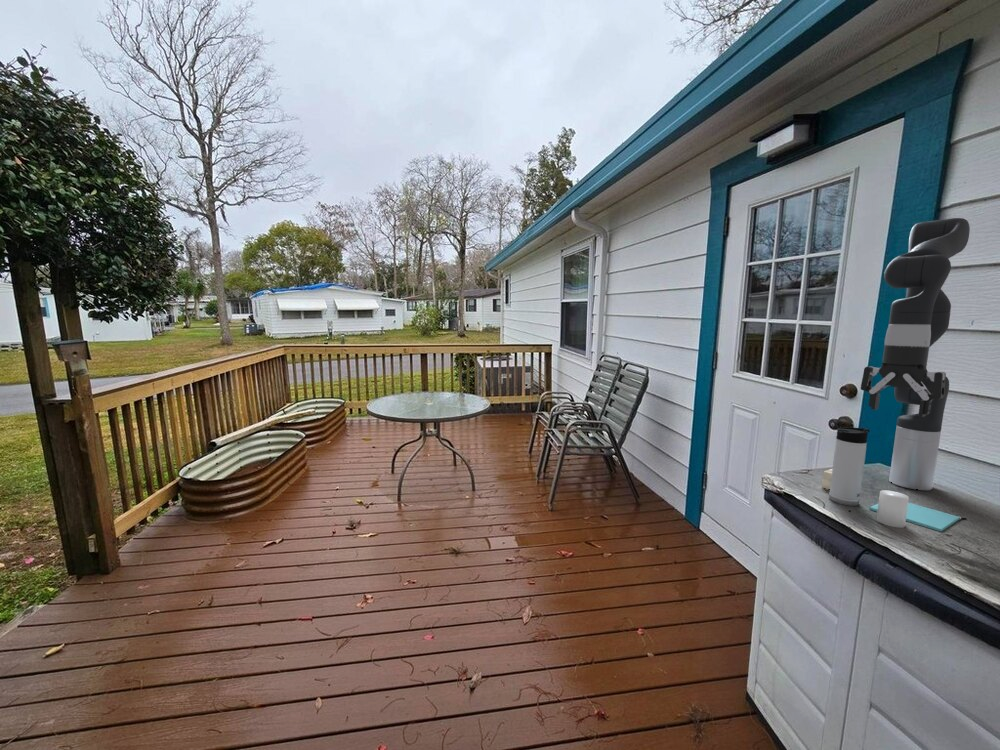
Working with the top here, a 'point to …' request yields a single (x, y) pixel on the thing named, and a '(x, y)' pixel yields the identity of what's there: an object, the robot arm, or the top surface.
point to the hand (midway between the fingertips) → (897, 412)
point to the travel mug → (848, 465)
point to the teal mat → (927, 517)
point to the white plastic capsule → (892, 508)
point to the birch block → (827, 479)
